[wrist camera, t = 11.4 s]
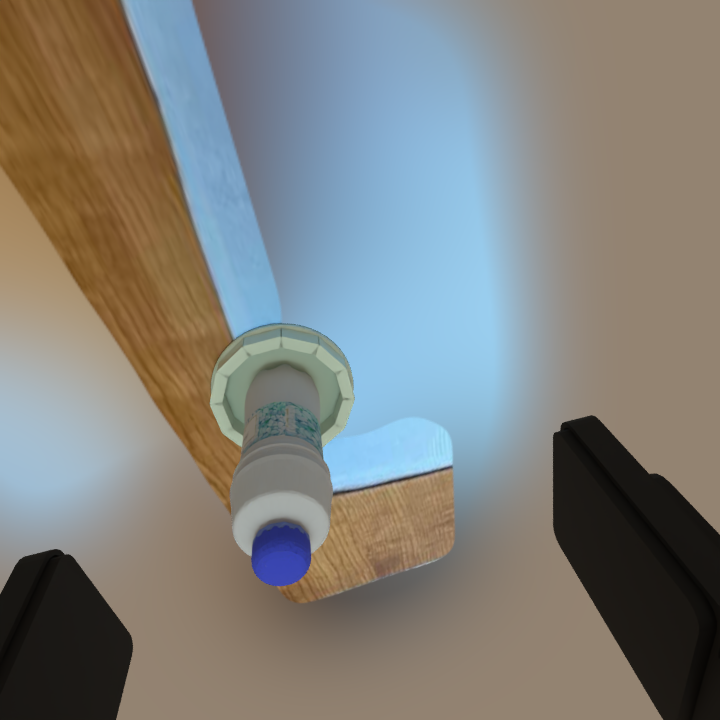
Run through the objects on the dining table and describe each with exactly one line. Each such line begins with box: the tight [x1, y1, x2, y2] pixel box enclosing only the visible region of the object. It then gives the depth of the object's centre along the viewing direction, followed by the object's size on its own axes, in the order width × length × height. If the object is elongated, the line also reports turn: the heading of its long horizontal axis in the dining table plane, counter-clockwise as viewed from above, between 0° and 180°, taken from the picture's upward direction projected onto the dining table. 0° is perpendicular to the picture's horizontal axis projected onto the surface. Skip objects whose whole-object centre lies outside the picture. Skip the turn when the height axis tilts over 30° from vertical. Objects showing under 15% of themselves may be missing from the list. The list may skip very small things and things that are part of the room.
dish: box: [210, 323, 355, 448], centre depth 45 cm, size 13×13×2 cm
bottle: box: [230, 364, 333, 586], centre depth 37 cm, size 7×7×20 cm
